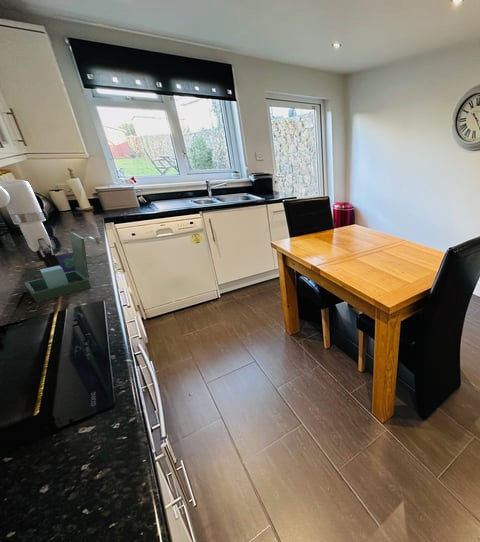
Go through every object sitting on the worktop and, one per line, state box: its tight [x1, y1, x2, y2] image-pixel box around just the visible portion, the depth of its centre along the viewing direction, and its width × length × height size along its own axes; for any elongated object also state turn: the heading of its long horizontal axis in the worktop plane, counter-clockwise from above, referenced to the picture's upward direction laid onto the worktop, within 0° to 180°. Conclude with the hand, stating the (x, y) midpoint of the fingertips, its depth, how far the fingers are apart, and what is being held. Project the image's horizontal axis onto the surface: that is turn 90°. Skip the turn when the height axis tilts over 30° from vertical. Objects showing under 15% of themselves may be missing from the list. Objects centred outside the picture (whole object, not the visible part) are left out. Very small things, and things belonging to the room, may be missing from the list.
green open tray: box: [23, 270, 92, 304], centre depth 107 cm, size 15×15×4 cm
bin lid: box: [69, 231, 97, 280], centre depth 112 cm, size 16×15×5 cm
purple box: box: [54, 247, 89, 273], centre depth 123 cm, size 9×3×11 cm, turn 148°
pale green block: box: [39, 266, 69, 289], centre depth 106 cm, size 5×4×8 cm
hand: (49, 263), depth 104 cm, fingers open, 9 cm apart
